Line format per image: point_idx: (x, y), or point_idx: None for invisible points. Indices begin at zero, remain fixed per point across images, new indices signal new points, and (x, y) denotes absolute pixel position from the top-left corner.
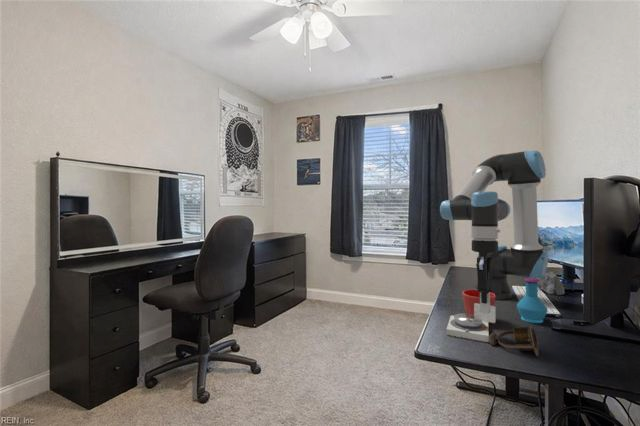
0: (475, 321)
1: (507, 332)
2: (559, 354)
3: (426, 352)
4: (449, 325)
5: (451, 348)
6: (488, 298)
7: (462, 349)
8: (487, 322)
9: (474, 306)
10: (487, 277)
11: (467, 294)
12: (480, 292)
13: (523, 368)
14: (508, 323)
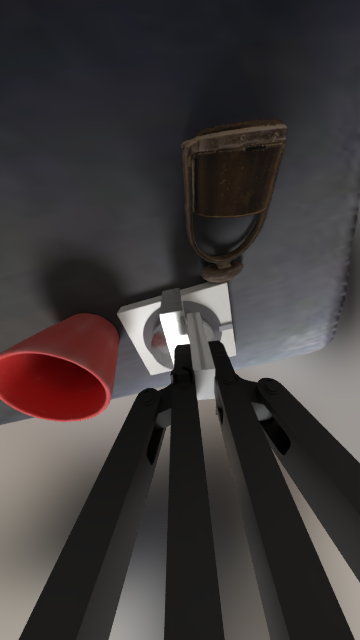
0: None
1: (196, 245)
2: (187, 54)
3: (323, 341)
4: None
5: (290, 321)
6: (210, 351)
7: (286, 306)
8: (132, 311)
9: None
10: (301, 525)
11: (62, 404)
12: (214, 395)
13: (344, 163)
14: (49, 275)
